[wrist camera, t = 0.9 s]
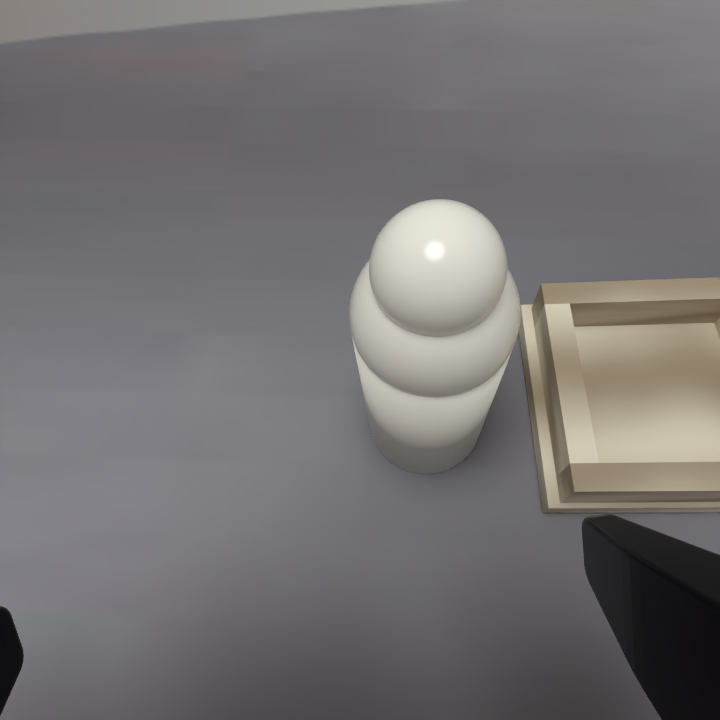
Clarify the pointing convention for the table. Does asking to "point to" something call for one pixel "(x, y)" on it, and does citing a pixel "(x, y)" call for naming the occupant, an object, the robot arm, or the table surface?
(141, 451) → the table surface
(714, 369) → the divided wooden tray
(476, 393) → the white pawn figure
